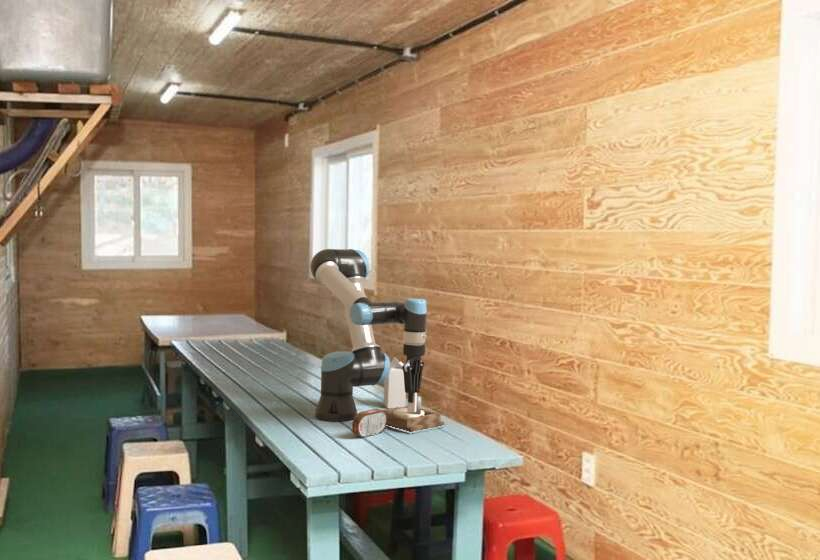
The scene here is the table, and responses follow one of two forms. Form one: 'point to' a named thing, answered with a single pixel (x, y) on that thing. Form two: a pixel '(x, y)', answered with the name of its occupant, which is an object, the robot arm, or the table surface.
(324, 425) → the table surface
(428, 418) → the wooden tray
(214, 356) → the table surface
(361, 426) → the tin
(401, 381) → the milk carton
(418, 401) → the dial
